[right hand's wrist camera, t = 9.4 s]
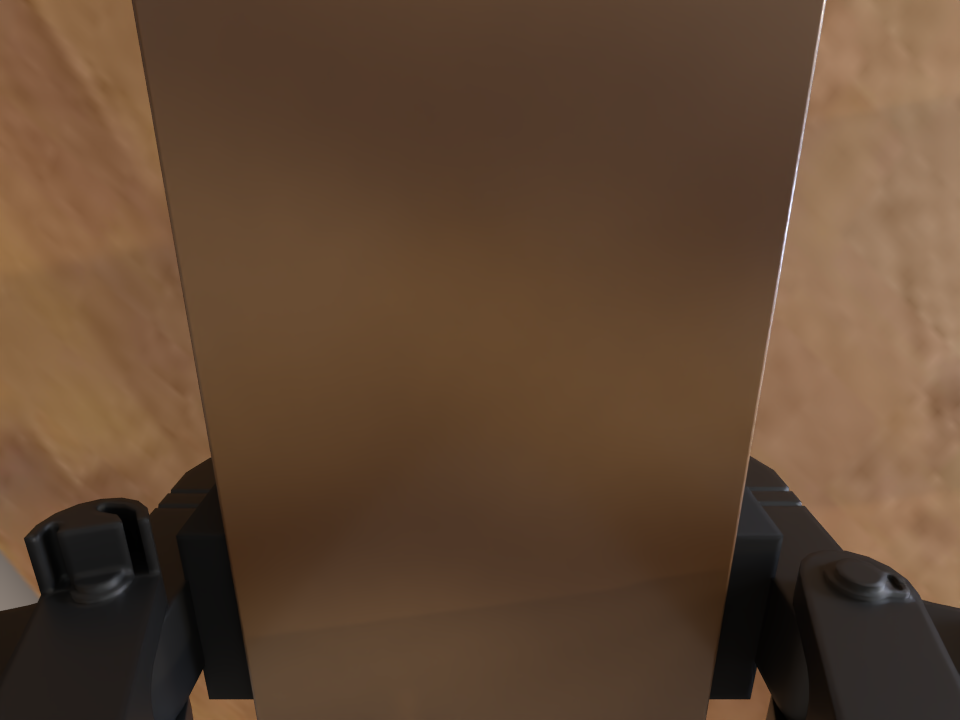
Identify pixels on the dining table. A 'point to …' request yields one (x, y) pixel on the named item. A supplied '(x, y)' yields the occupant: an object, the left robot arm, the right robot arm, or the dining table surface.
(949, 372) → the dining table surface
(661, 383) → the post
